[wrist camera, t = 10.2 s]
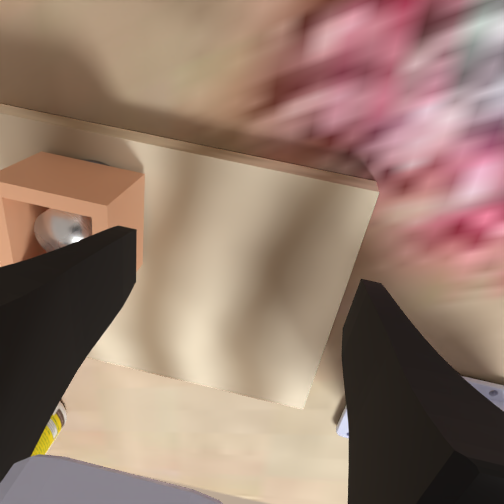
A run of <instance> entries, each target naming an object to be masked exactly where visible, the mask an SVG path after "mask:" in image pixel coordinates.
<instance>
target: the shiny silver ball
mask: <svg viewBox="0 0 504 504" xmlns="http://www.w3.org/2000/svg"><path fill="white" fill-rule="evenodd" d="M82 160H84V161H88V162H93V163H97V164H102V165H107V164H105V163H103V162H99V161H96V160H89V159H82ZM107 166H109V165H107ZM34 232H35V236H36V238H37V241H38V242H39V244H40V245H41V246H42V248H43V249H44V250H45V251H46V252H50V251H53V250H56V249H58V248H61V247H64V246H67V245H69V244H72V243H74V242H76V241H79V240H81V239H84V238H86V237H89V236H91V235H92V217H88V216H83V215H79V214H75V213H70V212H66V211H61V210H57V209H52V208H49V209H48V210H46V211H45V212H43V213H42V214H40V215H39V216H38V217H37V219H36V221H35V224H34Z"/></svg>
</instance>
